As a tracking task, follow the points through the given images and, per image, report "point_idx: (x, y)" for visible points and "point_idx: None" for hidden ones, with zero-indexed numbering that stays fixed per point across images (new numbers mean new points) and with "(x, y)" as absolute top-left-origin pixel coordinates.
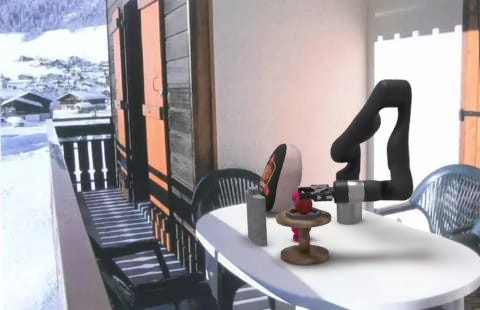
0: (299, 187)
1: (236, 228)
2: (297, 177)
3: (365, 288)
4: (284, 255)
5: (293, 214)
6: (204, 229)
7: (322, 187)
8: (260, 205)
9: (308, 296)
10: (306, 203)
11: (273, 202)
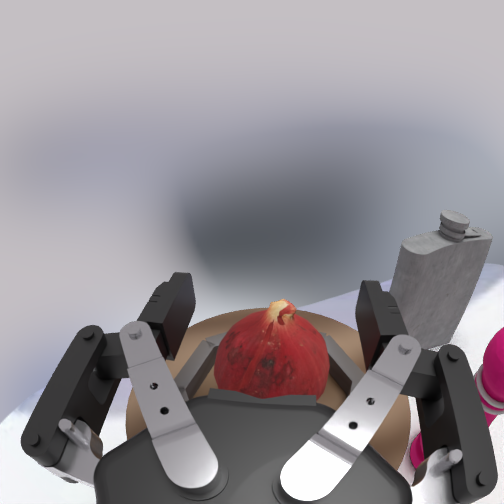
0: (367, 282)
1: (471, 306)
2: None
3: (6, 498)
4: None
5: (217, 343)
6: None
7: (309, 445)
8: (397, 266)
9: (30, 396)
10: (215, 365)
11: None
